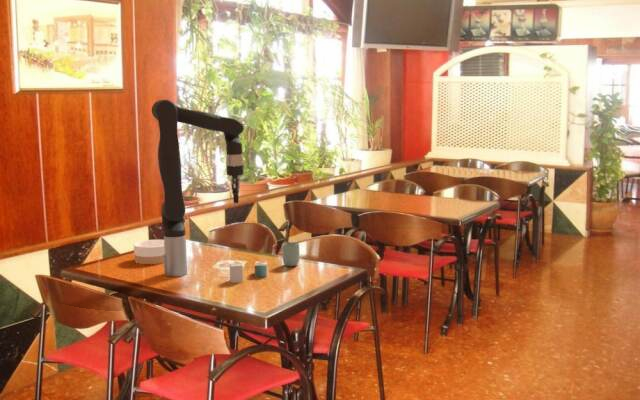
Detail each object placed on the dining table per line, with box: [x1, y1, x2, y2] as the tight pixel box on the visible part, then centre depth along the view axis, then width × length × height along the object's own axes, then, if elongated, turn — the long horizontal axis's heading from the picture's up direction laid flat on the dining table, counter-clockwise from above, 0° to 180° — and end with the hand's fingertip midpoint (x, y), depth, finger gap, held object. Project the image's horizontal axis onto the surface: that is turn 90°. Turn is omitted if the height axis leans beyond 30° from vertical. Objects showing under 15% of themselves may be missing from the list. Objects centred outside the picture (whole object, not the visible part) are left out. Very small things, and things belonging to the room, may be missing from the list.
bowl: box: [133, 239, 165, 265], centre depth 331 cm, size 17×17×8 cm
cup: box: [281, 241, 300, 267], centre depth 316 cm, size 8×8×10 cm
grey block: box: [229, 262, 244, 284], centre depth 292 cm, size 4×4×7 cm
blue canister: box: [254, 260, 268, 278], centre depth 302 cm, size 5×5×8 cm
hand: (236, 202), depth 314 cm, fingers closed
